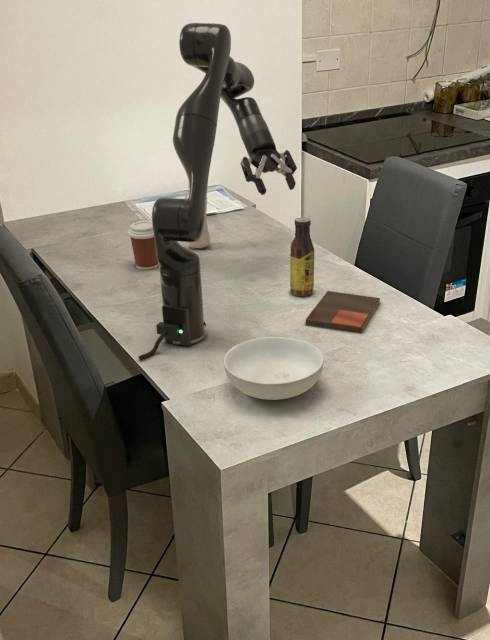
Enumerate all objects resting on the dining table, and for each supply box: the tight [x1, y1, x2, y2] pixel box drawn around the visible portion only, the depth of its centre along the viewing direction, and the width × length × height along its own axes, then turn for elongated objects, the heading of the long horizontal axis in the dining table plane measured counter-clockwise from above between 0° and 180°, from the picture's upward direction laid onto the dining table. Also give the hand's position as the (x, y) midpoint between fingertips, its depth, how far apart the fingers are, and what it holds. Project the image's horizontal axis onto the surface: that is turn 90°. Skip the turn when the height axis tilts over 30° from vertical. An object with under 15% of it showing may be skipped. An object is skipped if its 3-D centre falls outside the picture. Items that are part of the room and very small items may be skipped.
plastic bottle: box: [184, 185, 211, 249], centre depth 236 cm, size 6×7×20 cm
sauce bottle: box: [289, 217, 315, 297], centre depth 206 cm, size 6×6×20 cm
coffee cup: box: [126, 220, 159, 271], centre depth 226 cm, size 9×9×12 cm
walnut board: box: [305, 290, 381, 334], centre depth 200 cm, size 18×14×2 cm
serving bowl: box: [223, 336, 325, 401], centre depth 168 cm, size 21×21×7 cm
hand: (278, 190), depth 208 cm, fingers open, 8 cm apart
